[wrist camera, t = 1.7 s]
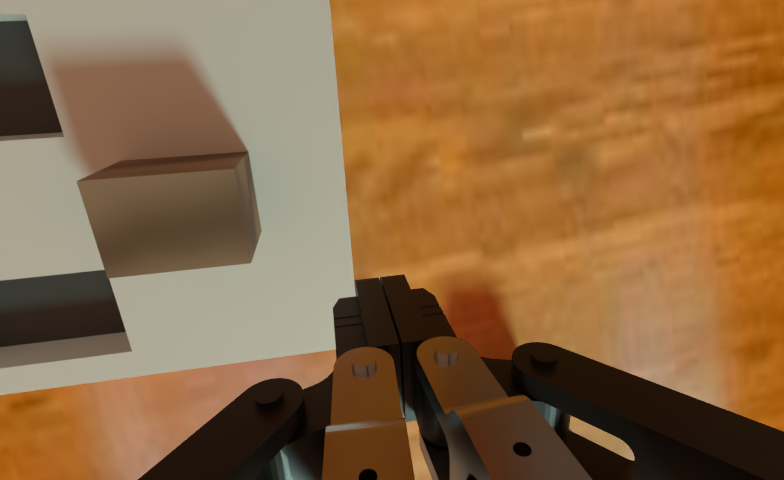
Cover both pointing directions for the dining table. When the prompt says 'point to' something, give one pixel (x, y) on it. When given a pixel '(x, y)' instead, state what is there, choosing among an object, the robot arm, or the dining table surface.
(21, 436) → the dining table surface
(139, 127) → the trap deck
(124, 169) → the walnut block
